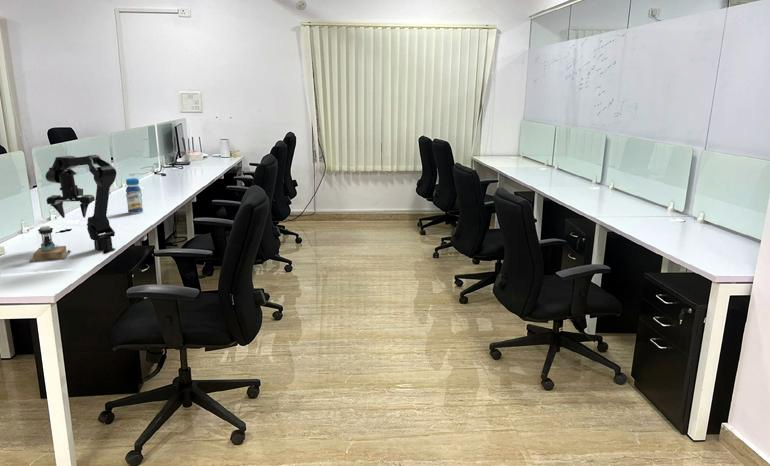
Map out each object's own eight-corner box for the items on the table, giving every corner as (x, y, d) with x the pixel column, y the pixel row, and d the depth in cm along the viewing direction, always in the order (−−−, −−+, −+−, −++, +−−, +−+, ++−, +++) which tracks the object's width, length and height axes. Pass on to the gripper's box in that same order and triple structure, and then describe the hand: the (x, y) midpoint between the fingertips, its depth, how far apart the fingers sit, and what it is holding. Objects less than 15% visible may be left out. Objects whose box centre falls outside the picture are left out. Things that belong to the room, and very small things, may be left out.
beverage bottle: (146, 211, 329) (142, 178, 324) (138, 214, 320) (135, 180, 316) (132, 210, 329) (129, 177, 324) (125, 213, 321) (121, 180, 316)
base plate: (71, 253, 241) (71, 249, 240) (65, 261, 229) (64, 258, 229) (37, 255, 237) (37, 252, 236) (29, 264, 225) (29, 260, 224)
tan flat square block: (66, 252, 239) (65, 245, 238) (61, 258, 230) (60, 251, 229) (40, 254, 236) (39, 247, 235) (34, 260, 226) (33, 253, 226)
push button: (58, 247, 236) (54, 224, 234) (60, 249, 232) (57, 226, 230) (40, 249, 232) (36, 226, 230) (42, 252, 228) (38, 229, 226)
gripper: (97, 180, 253) (102, 212, 258) (55, 180, 253) (62, 212, 258) (85, 185, 243) (91, 219, 248) (42, 186, 242) (49, 219, 247)
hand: (74, 217), depth 250 cm, fingers open, 9 cm apart
